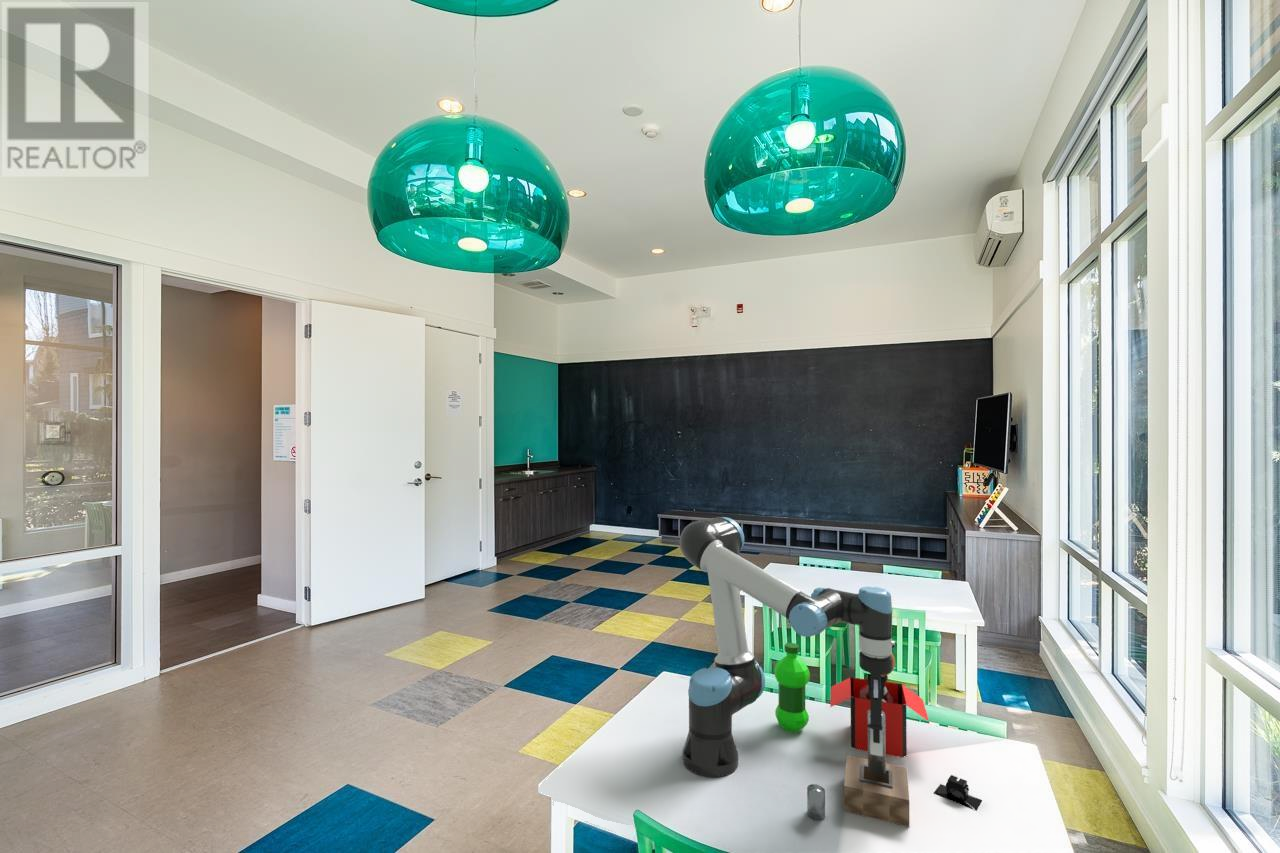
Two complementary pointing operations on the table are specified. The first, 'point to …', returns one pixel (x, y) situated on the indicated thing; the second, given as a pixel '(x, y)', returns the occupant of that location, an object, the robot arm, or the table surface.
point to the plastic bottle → (792, 690)
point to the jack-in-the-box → (891, 706)
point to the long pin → (874, 761)
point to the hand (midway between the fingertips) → (876, 749)
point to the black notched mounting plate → (958, 793)
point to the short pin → (816, 802)
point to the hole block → (876, 792)
